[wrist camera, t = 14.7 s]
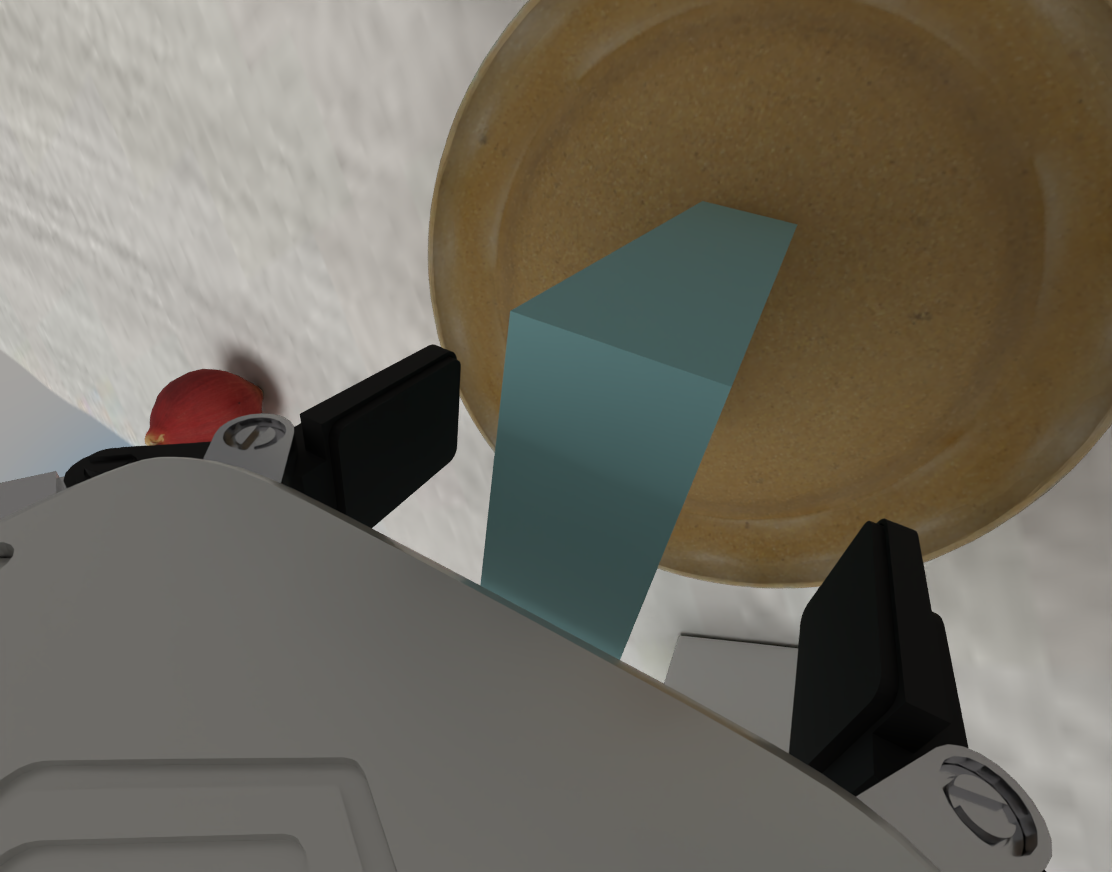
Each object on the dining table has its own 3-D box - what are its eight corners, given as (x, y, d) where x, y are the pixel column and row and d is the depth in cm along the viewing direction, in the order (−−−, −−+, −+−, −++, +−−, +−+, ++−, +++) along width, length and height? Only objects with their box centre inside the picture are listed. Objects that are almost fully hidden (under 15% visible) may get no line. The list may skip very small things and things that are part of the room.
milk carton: (705, 713, 33) (599, 1184, 18) (678, 631, 31) (531, 1102, 16) (828, 736, 29) (820, 1350, 15) (810, 645, 27) (777, 1279, 12)
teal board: (797, 224, 16) (731, 386, 6) (703, 454, 21) (587, 740, 11) (702, 200, 16) (510, 310, 7) (634, 427, 22) (470, 672, 12)
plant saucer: (1325, 371, 15) (1428, 423, 12) (680, 600, 30) (665, 644, 27) (803, -371, 13) (794, -498, 10) (394, 282, 28) (349, 298, 25)
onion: (249, 421, 40) (141, 476, 34) (217, 351, 37) (94, 397, 31) (300, 429, 37) (193, 490, 31) (270, 355, 35) (147, 405, 29)
